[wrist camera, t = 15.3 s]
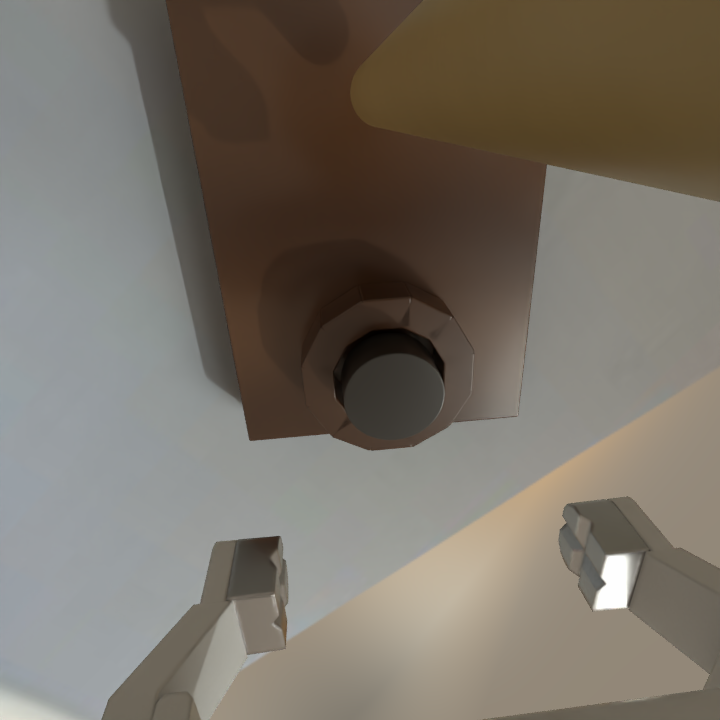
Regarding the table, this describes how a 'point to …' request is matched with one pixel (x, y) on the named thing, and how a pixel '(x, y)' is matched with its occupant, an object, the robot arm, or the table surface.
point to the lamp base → (347, 219)
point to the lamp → (559, 85)
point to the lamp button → (391, 386)
